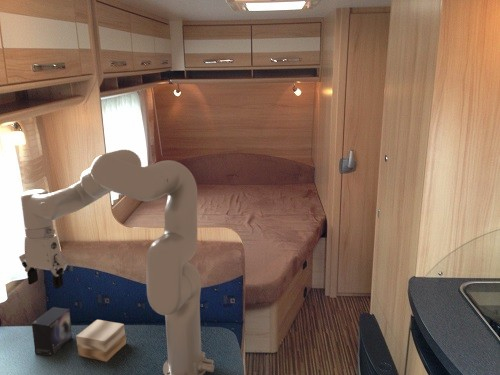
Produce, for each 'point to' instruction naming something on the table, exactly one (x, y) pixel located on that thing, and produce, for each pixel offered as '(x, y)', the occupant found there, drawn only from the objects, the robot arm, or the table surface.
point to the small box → (51, 331)
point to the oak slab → (100, 354)
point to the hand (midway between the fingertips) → (46, 284)
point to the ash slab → (100, 335)
